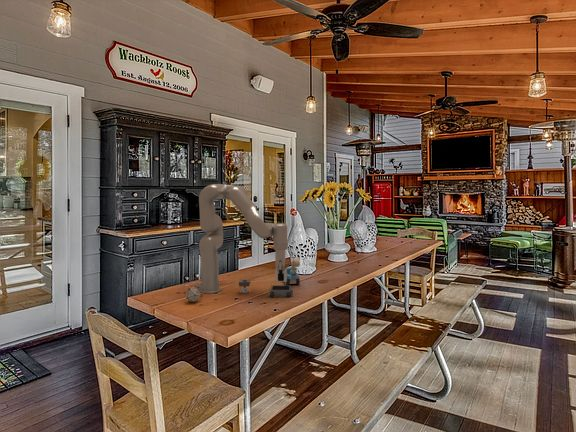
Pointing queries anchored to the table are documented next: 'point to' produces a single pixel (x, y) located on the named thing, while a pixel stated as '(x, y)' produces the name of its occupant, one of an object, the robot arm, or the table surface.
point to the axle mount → (244, 290)
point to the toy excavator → (293, 273)
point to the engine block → (284, 275)
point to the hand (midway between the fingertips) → (281, 279)
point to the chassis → (280, 291)
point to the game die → (193, 294)
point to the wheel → (244, 283)
